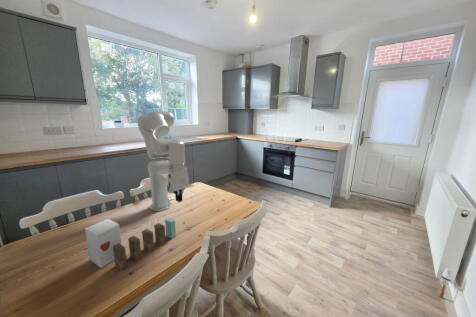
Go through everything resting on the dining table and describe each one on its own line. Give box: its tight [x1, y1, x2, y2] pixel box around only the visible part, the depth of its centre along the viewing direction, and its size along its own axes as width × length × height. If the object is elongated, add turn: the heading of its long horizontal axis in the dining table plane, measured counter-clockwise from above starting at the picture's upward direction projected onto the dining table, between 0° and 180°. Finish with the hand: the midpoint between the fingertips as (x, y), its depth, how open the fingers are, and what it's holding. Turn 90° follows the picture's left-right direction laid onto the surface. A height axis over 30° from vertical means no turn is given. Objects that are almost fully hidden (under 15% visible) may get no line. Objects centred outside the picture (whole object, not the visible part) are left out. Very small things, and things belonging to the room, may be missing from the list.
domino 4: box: [153, 222, 166, 246], centre depth 90 cm, size 2×4×9 cm, turn 57°
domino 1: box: [113, 243, 128, 272], centre depth 76 cm, size 2×4×9 cm, turn 57°
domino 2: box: [127, 235, 142, 262], centre depth 80 cm, size 2×4×9 cm, turn 57°
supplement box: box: [84, 218, 123, 269], centre depth 79 cm, size 9×9×15 cm
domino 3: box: [141, 228, 155, 254], centre depth 85 cm, size 2×4×9 cm, turn 57°
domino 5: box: [164, 217, 177, 239], centre depth 95 cm, size 2×4×9 cm, turn 57°
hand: (179, 200), depth 97 cm, fingers closed
